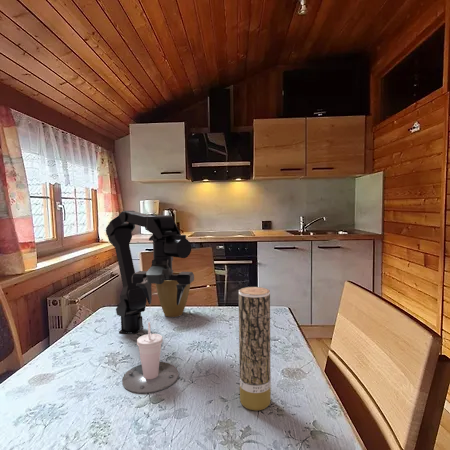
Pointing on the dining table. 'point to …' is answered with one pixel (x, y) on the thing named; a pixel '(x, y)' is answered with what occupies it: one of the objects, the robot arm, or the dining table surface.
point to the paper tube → (254, 347)
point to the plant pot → (171, 297)
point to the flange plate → (139, 384)
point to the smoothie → (150, 353)
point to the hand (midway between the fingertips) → (163, 304)
